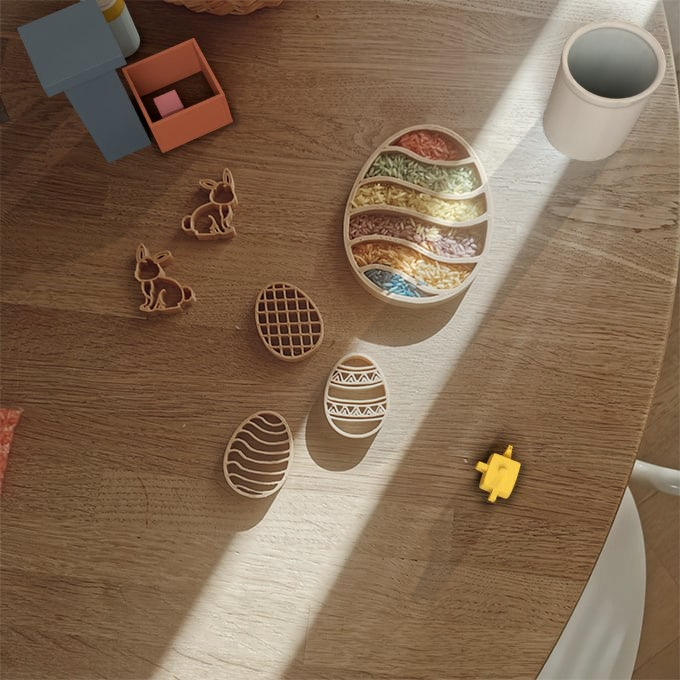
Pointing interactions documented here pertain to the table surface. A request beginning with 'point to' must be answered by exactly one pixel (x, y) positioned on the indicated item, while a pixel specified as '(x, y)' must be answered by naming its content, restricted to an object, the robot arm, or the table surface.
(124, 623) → the table surface
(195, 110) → the bin
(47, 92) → the blue t-shaped block
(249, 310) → the table surface
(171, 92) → the pink rectangular block
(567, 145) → the utensil holder
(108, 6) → the bottle
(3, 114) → the dark grey angular piece
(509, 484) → the teapot
